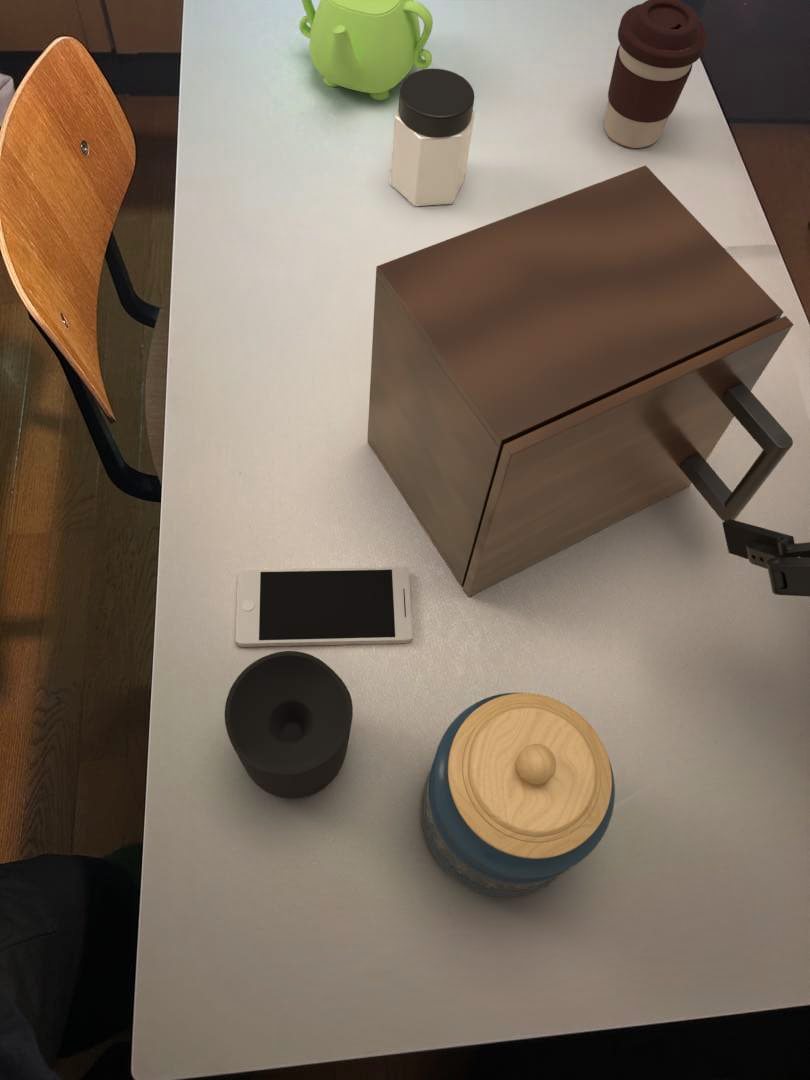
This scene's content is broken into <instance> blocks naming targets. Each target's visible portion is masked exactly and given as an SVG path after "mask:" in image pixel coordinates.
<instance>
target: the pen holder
mask: <svg viewBox="0 0 810 1080" xmlns="http://www.w3.org/2000/svg"><path fill="white" fill-rule="evenodd" d="M353 709H354V706H353V700H352V697H351V693H350V691H349V689H348V687H347V685H346V684H345V682H344V681H343V679H342V678H341V677H340V676H339V675H338V673H337V672H335V671H334V670H333V669H332V668H331V667H330V666H329V665H328V664H326V662H324V661H323V660H321V659H320V658H318V657H316V656H314V655H313V654H310V653H307V652H303V651H298V650H284V651H277V652H273V653H270V654H267V655H265V656H262V657H260V658H258V659H257V660H254V661H253V662H252V663H250V664H249V665H248V666H247V667H245V669H244V670H243V671H241V672H240V674H239V675H238V676H237V677H236V679H235V681H233V683H232V686H231V687H230V689H229V691H228V694H227V697H226V701H225V705H224V724H225V725H224V726H225V730H226V733H227V735H228V739H229V741H230V743H231V745H232V747H233V749H234V751H235V754H236V755H237V757H238V759H239V761H240V762H241V764H242V766H243V768H244V769H245V771H246V773H247V774H248V776H249V777H250V778H251V780H252V781H253V782H254V783H255V784H256V785H257V786H258V787H259V788H260V789H261V790H263V791H265V793H268V794H270V795H273V796H275V797H279V798H284V799H299V798H300V799H301V798H305V797H309V796H311V795H314V794H316V793H318V792H320V791H322V790H323V789H324V788H326V787H327V786H328V785H329V784H330V783H332V781H333V780H334V779H335V778H336V776H337V775H338V774H339V772H340V770H341V769H342V767H343V764H344V762H345V758H346V754H347V751H348V747H349V741H350V735H351V729H352V723H353V714H354V710H353Z"/></svg>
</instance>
